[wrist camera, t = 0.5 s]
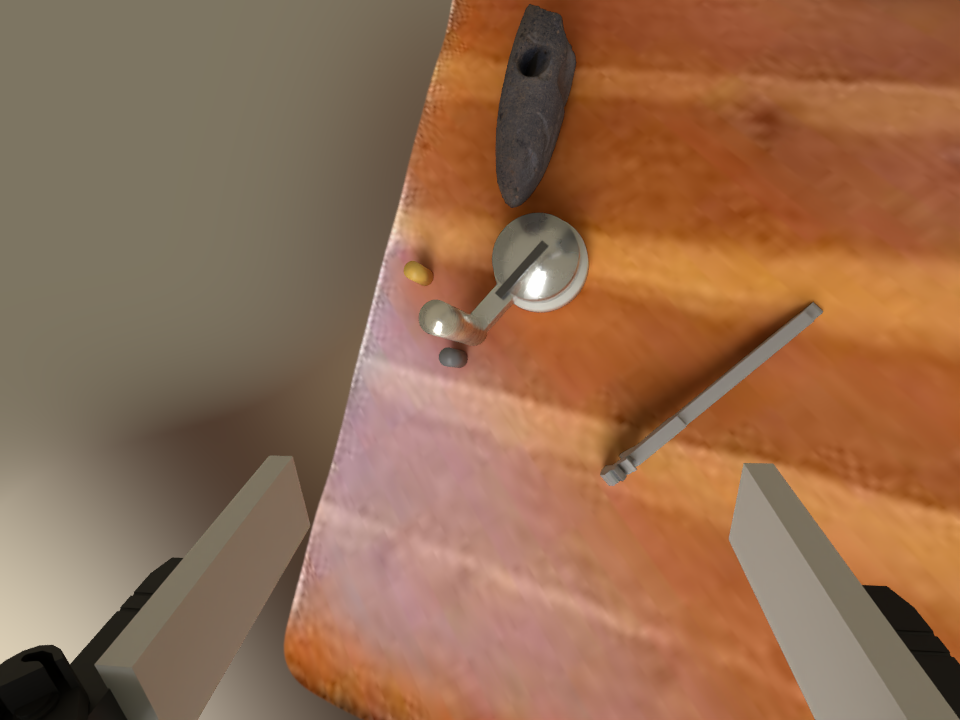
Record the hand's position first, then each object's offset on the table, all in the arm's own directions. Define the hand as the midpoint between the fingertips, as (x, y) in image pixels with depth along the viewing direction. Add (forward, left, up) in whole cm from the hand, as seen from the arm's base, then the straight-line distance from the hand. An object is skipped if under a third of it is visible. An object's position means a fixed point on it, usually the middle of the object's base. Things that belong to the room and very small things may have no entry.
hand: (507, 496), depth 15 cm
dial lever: (-5, -12, -26) cm, 29 cm away
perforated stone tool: (-16, -21, -28) cm, 38 cm away
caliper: (-9, +5, -28) cm, 30 cm away
